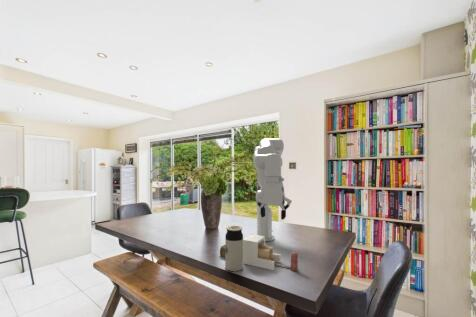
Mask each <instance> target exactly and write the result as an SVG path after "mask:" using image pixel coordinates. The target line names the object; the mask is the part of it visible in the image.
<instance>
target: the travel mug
mask: <svg viewBox="0 0 476 317" xmlns="http://www.w3.org/2000/svg"><path fill="white" fill-rule="evenodd" d="M225 229H226V233H225V244H224V245H225V257H224V258H225V259H224V260H225V261H224V262H225V264H224V265H225V267H224V268H225V269H226V270H227V271H230V272H238V271H240V270H242V269H243V268H244V263H243V240H244V234H243V232H242V230H243V227H242V226H240V225H229V226H226V228H225Z"/></svg>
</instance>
